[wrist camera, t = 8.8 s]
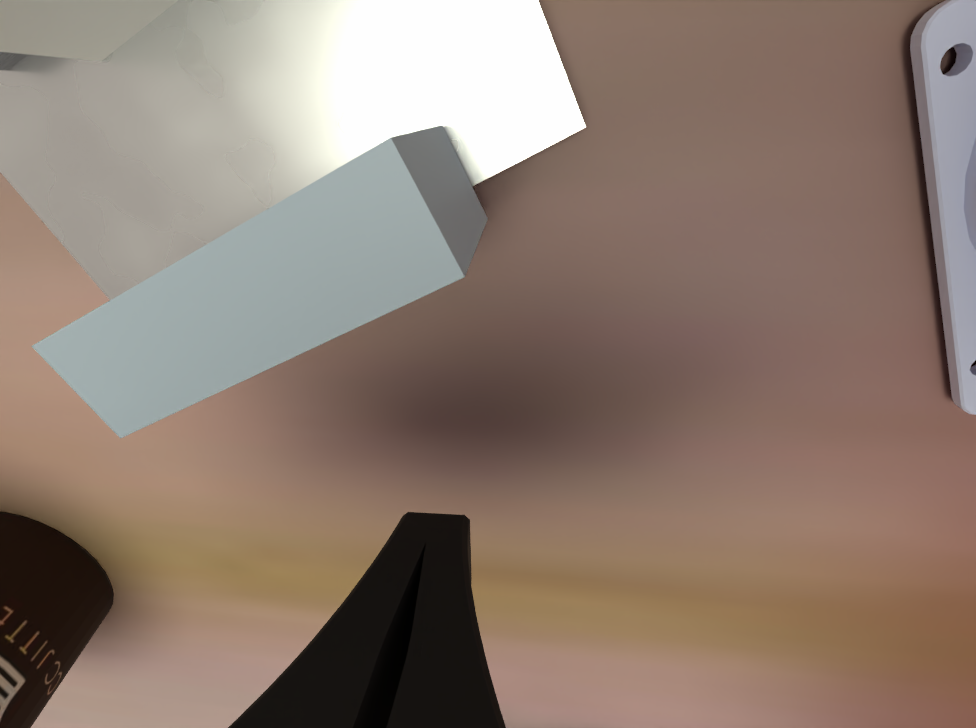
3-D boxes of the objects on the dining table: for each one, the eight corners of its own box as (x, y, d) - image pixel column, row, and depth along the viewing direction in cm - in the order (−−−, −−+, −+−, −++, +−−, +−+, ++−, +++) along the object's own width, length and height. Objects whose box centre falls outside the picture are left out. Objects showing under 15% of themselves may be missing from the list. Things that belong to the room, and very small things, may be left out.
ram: (487, 218, 11) (464, 277, 7) (237, 343, 12) (120, 438, 9) (442, 125, 10) (390, 136, 6) (183, 272, 12) (31, 346, 8)
